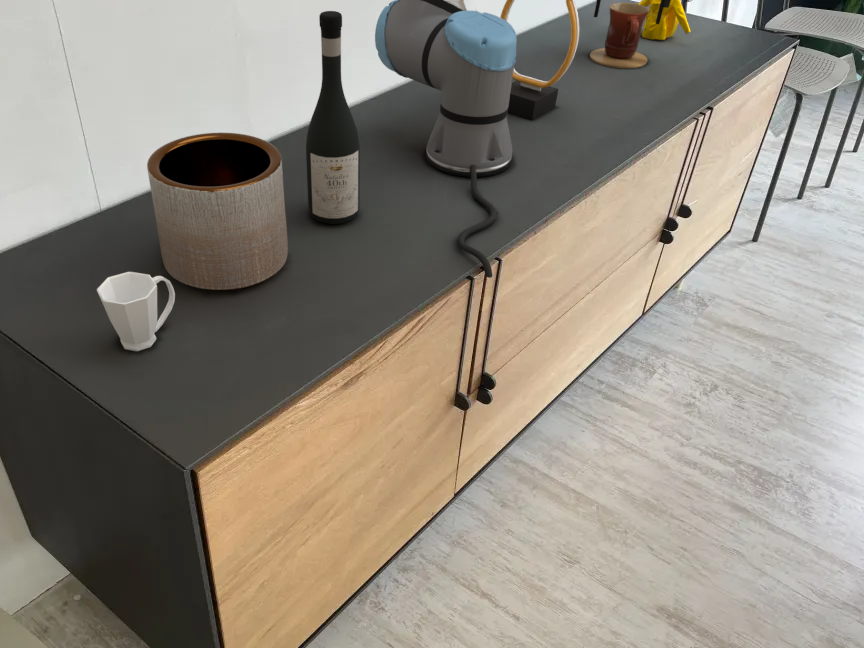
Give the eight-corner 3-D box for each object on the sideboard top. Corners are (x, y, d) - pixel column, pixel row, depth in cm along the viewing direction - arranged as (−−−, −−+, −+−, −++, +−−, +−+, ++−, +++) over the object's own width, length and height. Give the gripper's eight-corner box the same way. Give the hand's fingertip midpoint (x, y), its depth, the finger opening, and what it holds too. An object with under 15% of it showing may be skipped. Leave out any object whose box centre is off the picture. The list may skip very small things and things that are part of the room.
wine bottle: (362, 225, 121) (364, 21, 101) (311, 228, 120) (303, 23, 100) (355, 200, 127) (355, 3, 107) (306, 203, 126) (298, 5, 106)
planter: (172, 230, 118) (155, 131, 108) (289, 228, 120) (283, 130, 109) (156, 298, 105) (135, 192, 95) (288, 294, 106) (281, 189, 96)
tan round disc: (645, 71, 175) (646, 69, 175) (587, 64, 178) (587, 62, 178) (648, 53, 185) (648, 51, 185) (592, 46, 188) (592, 45, 187)
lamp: (478, 103, 159) (497, -73, 139) (502, 91, 165) (524, -80, 144) (549, 125, 151) (581, -57, 131) (572, 112, 156) (606, -65, 136)
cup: (97, 343, 97) (83, 289, 92) (158, 306, 104) (148, 254, 98) (135, 365, 94) (123, 311, 89) (196, 326, 101) (187, 273, 95)
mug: (596, 48, 186) (605, 2, 179) (633, 49, 186) (644, 3, 179) (607, 65, 177) (617, 17, 170) (645, 66, 176) (657, 18, 170)
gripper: (713, -88, 162) (684, 20, 176) (591, -97, 167) (572, 8, 181) (713, -81, 157) (683, 30, 170) (588, -91, 162) (568, 17, 176)
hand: (626, 19), depth 176 cm, fingers open, 13 cm apart
